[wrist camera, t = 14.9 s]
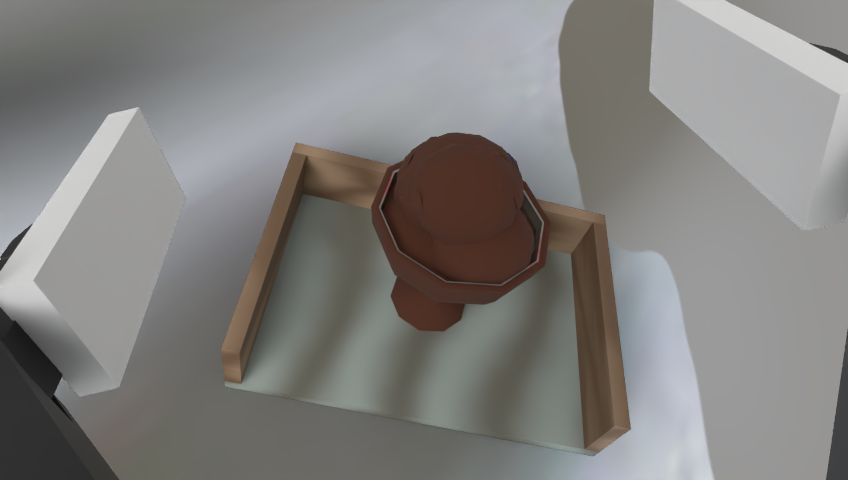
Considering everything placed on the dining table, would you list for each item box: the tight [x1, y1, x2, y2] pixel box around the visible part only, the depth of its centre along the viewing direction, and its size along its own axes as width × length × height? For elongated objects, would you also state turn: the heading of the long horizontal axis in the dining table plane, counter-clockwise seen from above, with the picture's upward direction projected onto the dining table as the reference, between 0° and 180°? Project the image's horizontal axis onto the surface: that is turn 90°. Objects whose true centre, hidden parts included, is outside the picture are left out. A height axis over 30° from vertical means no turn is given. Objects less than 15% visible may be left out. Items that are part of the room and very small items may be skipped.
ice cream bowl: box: [371, 133, 551, 332], centre depth 37 cm, size 11×11×15 cm
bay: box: [221, 143, 631, 456], centre depth 41 cm, size 24×17×5 cm
